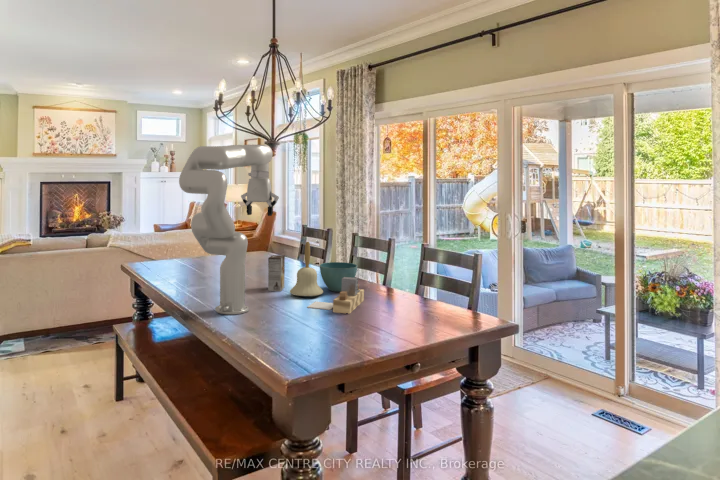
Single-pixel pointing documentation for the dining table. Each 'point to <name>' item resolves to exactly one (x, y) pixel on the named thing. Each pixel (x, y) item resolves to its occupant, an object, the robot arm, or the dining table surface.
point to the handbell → (306, 278)
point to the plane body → (347, 301)
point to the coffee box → (276, 272)
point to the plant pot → (336, 274)
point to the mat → (321, 305)
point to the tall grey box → (350, 285)
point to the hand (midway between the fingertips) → (259, 215)
